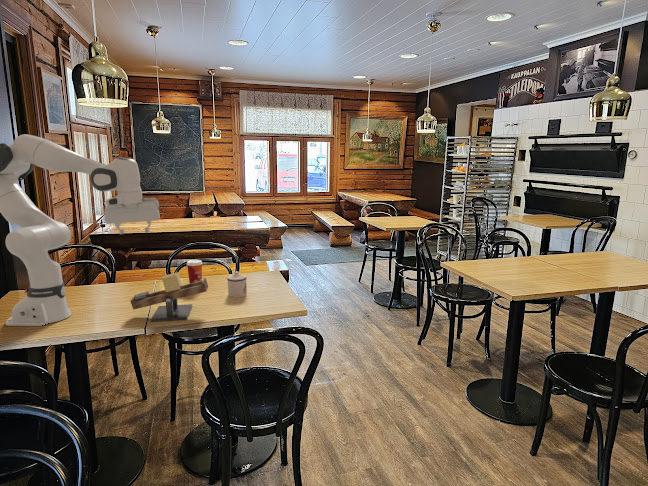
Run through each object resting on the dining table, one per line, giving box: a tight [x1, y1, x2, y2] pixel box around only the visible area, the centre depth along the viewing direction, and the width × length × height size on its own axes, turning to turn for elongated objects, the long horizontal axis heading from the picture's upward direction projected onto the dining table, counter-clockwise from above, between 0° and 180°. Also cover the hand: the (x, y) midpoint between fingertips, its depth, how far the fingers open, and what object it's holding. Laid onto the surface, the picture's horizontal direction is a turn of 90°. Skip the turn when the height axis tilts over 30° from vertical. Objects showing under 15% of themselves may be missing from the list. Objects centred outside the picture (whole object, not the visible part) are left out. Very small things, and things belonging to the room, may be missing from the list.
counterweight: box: [134, 291, 150, 301], centre depth 174 cm, size 4×4×3 cm
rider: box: [161, 271, 183, 293], centre depth 175 cm, size 6×4×8 cm
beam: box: [130, 277, 209, 310], centre depth 176 cm, size 30×7×5 cm, turn 99°
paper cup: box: [186, 259, 203, 284], centre depth 211 cm, size 8×8×14 cm
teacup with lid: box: [226, 270, 248, 299], centre depth 202 cm, size 12×9×12 cm
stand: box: [150, 297, 193, 323], centre depth 177 cm, size 14×15×9 cm
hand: (134, 233), depth 170 cm, fingers open, 8 cm apart
